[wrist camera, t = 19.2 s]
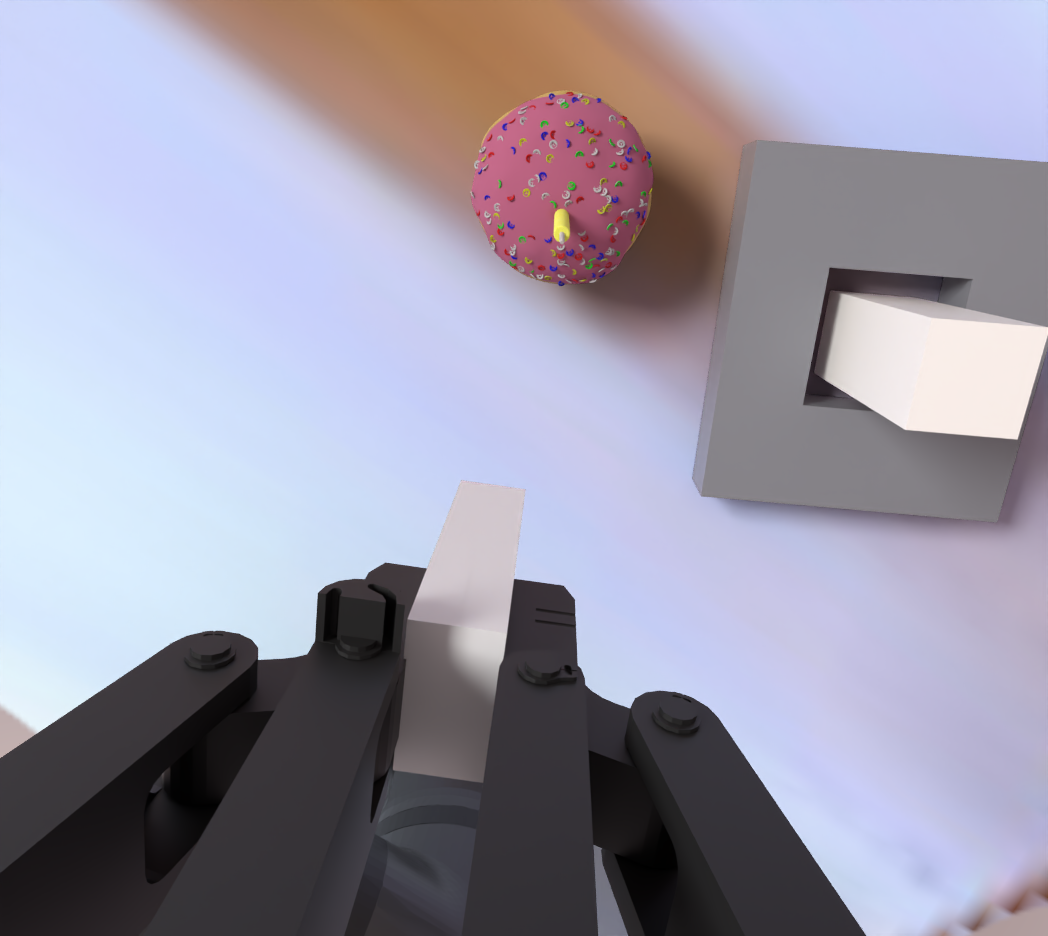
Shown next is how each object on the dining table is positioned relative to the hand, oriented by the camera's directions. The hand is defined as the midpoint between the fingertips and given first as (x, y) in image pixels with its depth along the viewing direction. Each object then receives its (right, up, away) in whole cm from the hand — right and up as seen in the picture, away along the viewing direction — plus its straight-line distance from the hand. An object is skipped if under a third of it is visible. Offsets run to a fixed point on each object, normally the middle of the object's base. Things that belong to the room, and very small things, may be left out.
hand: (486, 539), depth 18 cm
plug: (+19, +9, +24) cm, 32 cm away
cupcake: (+3, +16, +22) cm, 28 cm away
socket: (+19, +9, +24) cm, 32 cm away
